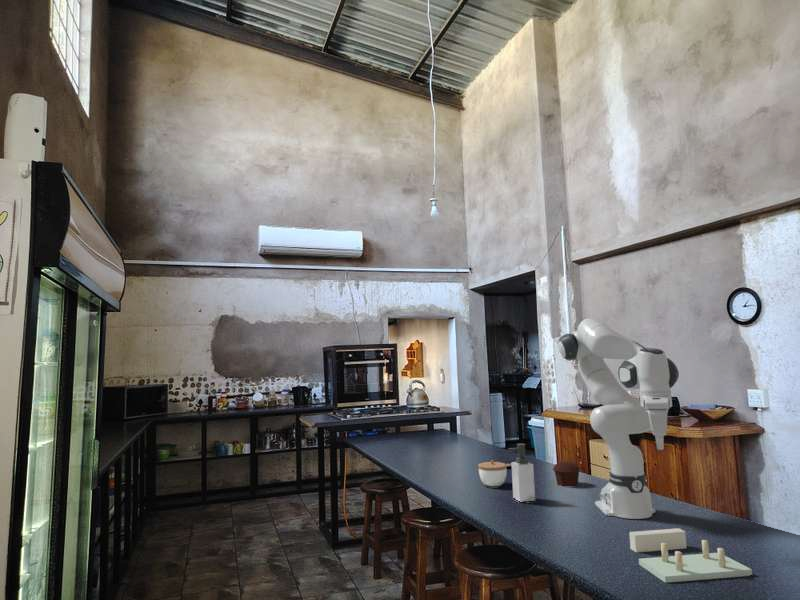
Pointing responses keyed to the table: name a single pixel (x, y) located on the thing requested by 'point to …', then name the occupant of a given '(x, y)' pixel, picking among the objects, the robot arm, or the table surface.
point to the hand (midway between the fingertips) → (659, 446)
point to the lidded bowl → (492, 473)
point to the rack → (694, 565)
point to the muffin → (566, 473)
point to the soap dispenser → (522, 476)
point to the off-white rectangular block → (657, 540)
